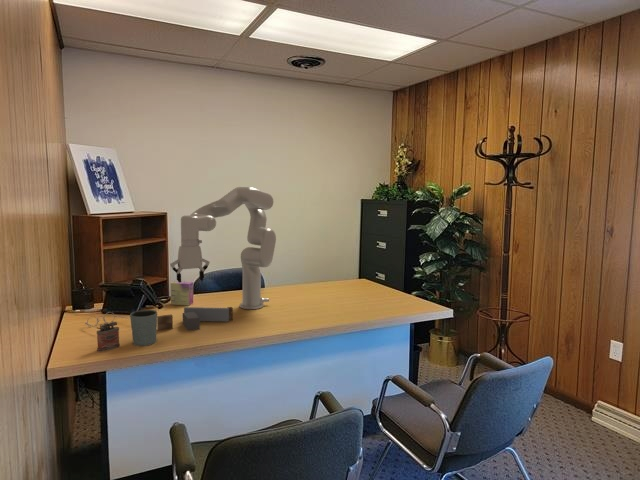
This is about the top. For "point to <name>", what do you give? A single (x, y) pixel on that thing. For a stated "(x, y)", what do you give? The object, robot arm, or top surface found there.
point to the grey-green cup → (144, 327)
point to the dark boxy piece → (191, 321)
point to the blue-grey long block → (209, 313)
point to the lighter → (108, 337)
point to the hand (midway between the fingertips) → (190, 280)
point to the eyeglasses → (103, 319)
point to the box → (181, 293)
